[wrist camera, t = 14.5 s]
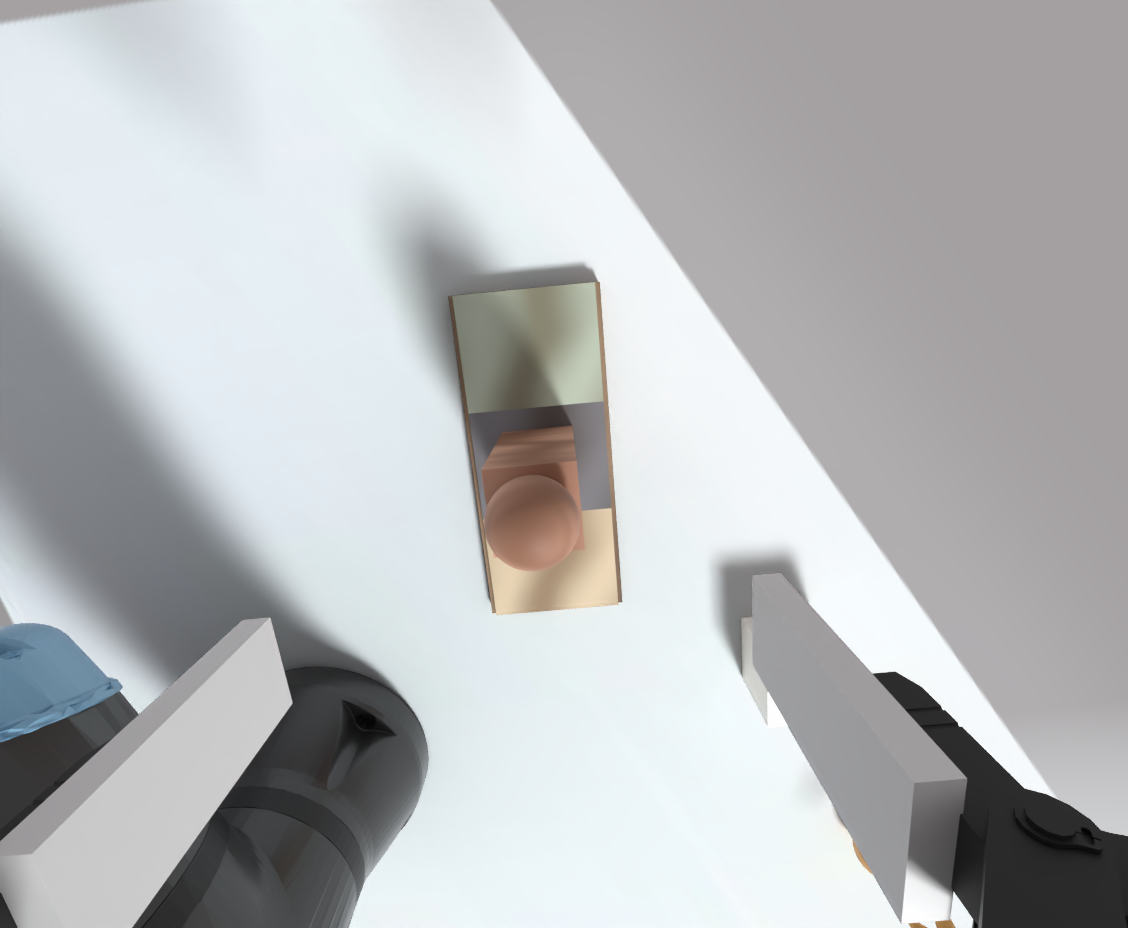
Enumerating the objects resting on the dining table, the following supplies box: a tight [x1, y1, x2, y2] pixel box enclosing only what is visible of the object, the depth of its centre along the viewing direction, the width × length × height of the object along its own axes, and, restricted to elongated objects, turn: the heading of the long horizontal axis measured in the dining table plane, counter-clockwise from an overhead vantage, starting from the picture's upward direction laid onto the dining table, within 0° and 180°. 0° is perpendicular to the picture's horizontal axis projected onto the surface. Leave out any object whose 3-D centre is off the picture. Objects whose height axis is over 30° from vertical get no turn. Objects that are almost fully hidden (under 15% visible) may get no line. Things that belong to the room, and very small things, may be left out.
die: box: [741, 617, 787, 727], centre depth 35 cm, size 5×5×5 cm
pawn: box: [481, 426, 585, 571], centre depth 27 cm, size 4×4×13 cm
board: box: [448, 282, 622, 615], centre depth 34 cm, size 9×21×1 cm, turn 5°
